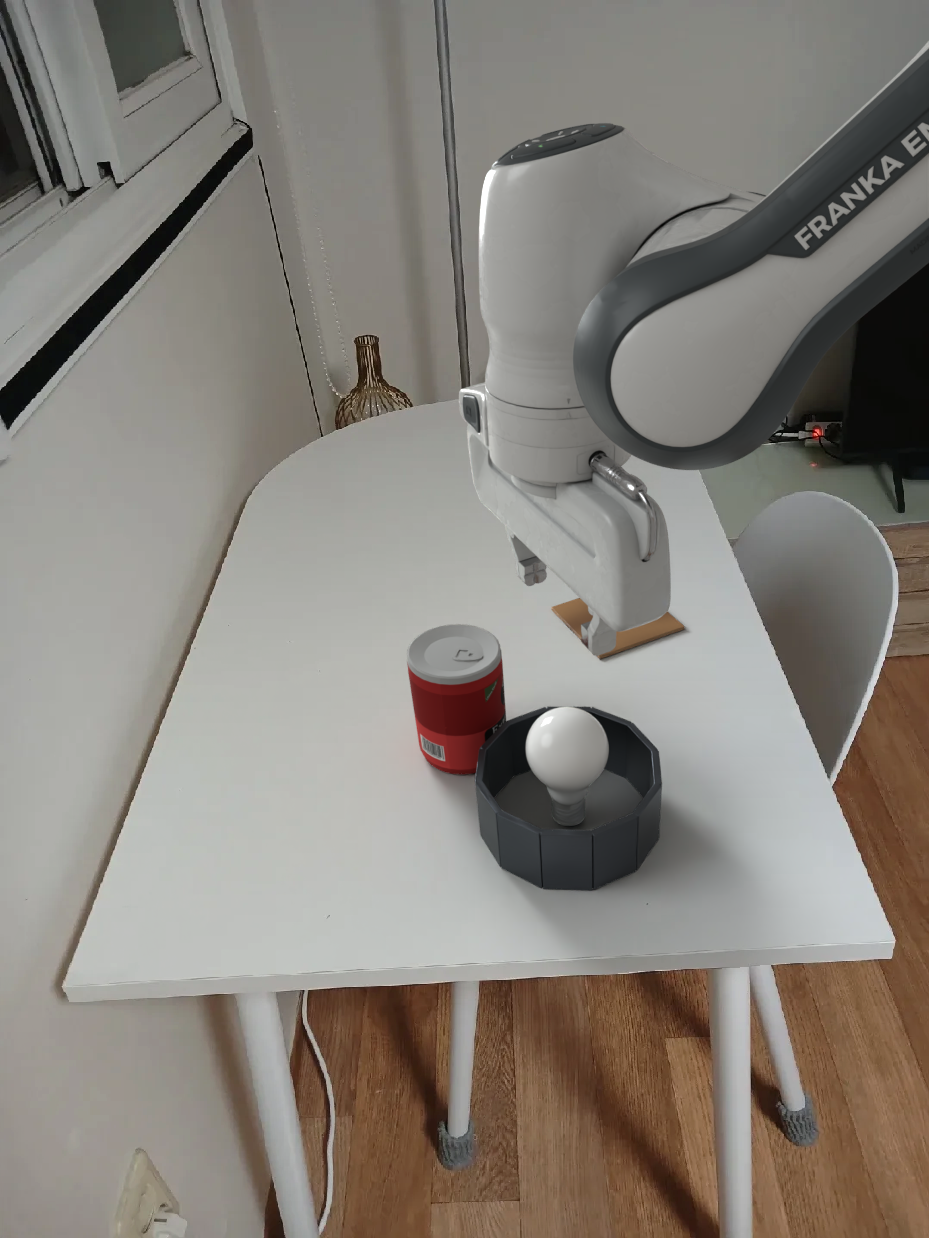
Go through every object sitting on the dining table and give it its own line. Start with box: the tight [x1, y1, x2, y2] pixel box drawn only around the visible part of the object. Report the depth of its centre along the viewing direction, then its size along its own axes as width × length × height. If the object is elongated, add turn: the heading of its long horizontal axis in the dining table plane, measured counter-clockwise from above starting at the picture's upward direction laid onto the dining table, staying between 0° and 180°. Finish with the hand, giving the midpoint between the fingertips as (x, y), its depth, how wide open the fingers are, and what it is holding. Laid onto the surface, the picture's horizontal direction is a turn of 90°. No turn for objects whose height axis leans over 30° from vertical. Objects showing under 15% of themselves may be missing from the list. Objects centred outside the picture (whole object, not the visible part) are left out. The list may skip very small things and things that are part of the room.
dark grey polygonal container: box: [474, 705, 663, 891], centre depth 76 cm, size 14×14×6 cm
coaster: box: [550, 597, 685, 660], centre depth 99 cm, size 10×10×1 cm
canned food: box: [406, 623, 507, 775], centre depth 82 cm, size 8×8×11 cm
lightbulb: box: [526, 706, 609, 827], centre depth 74 cm, size 6×6×11 cm
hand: (563, 612), depth 66 cm, fingers open, 8 cm apart
